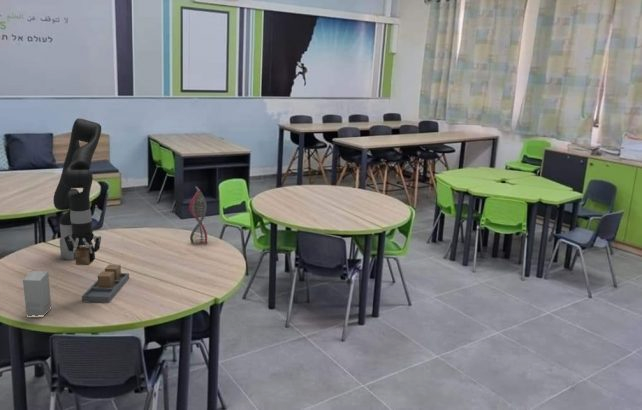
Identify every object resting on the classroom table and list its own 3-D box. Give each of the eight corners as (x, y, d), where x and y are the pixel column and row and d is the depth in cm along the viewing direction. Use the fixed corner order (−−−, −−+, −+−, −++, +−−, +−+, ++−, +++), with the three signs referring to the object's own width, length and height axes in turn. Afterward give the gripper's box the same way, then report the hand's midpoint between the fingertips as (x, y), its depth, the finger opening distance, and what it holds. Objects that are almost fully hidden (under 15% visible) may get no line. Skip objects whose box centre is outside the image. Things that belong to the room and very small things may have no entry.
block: (75, 264, 216) (74, 250, 215) (81, 260, 221) (80, 246, 220) (88, 265, 216) (87, 250, 215) (93, 260, 221) (92, 246, 219)
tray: (82, 301, 219) (81, 285, 217) (105, 277, 243) (104, 262, 241) (109, 302, 219) (107, 286, 218) (129, 278, 243) (128, 263, 241)
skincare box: (35, 308, 213) (31, 270, 208) (53, 308, 213) (49, 270, 209) (25, 318, 204) (21, 279, 200) (44, 318, 205) (40, 279, 201)
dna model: (203, 246, 284) (202, 190, 276) (187, 245, 286) (185, 189, 278) (210, 241, 293) (209, 186, 285) (194, 239, 294) (193, 185, 286)
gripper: (103, 218, 218) (106, 258, 222) (67, 216, 218) (71, 257, 222) (95, 223, 210) (99, 265, 215) (58, 222, 210) (62, 263, 215)
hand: (84, 260), depth 218 cm, fingers closed on block, 5 cm apart
